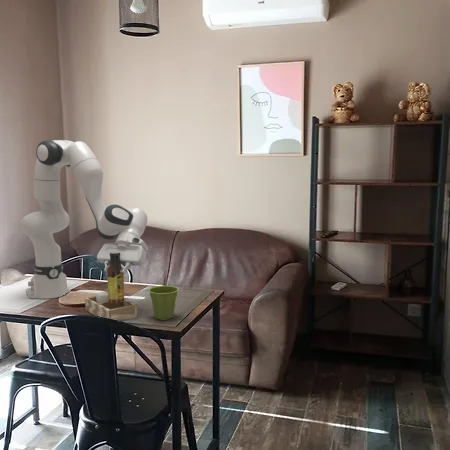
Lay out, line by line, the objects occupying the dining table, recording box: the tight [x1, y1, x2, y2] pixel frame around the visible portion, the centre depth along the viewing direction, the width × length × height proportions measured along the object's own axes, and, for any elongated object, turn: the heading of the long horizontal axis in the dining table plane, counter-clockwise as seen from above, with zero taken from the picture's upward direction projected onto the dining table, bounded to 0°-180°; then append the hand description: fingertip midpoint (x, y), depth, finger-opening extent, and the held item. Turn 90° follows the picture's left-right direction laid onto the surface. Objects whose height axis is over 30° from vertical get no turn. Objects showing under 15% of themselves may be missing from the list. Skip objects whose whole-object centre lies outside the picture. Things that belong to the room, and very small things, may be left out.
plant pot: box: [147, 285, 180, 321], centre depth 197 cm, size 12×12×11 cm
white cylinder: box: [95, 291, 109, 303], centre depth 206 cm, size 7×7×7 cm
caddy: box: [84, 295, 138, 322], centre depth 202 cm, size 22×12×5 cm, turn 39°
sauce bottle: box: [107, 252, 125, 304], centre depth 197 cm, size 7×6×20 cm
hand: (114, 272), depth 196 cm, fingers closed on sauce bottle, 6 cm apart
